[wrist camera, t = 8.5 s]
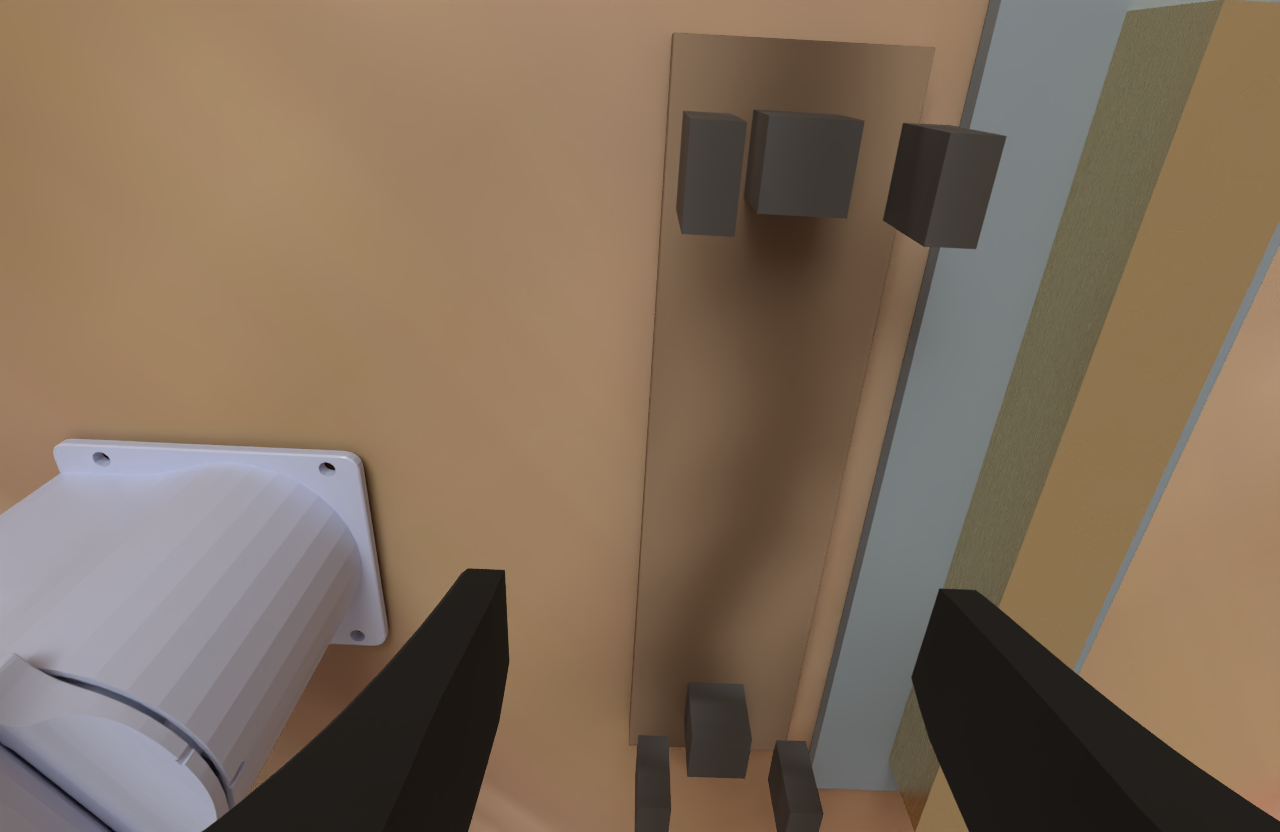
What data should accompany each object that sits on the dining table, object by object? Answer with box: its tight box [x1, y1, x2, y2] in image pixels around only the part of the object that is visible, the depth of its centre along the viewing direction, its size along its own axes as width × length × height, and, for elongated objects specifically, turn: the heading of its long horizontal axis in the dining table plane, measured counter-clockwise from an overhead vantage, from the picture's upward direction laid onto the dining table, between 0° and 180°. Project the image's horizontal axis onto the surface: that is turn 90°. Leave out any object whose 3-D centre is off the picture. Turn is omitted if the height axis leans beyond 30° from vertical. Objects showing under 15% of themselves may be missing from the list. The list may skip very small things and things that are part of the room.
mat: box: [809, 0, 1280, 791], centre depth 22 cm, size 9×30×1 cm, turn 177°
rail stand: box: [629, 33, 1007, 832], centre depth 20 cm, size 6×24×6 cm, turn 177°
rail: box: [889, 0, 1280, 832], centre depth 20 cm, size 3×26×3 cm, turn 177°
